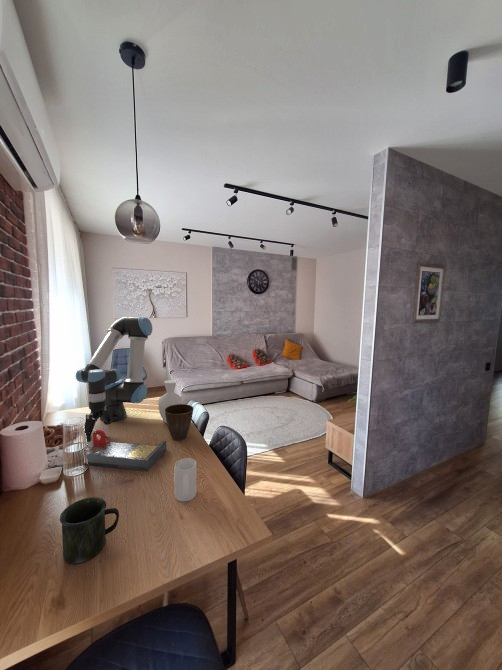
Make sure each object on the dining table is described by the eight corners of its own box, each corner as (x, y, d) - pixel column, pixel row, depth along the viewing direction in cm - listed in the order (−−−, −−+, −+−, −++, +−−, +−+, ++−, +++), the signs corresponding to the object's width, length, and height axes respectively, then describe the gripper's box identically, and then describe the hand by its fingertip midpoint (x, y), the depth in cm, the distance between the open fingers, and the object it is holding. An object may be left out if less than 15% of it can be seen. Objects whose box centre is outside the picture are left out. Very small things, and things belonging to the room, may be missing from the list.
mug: (65, 541, 80) (63, 503, 79) (119, 525, 86) (119, 489, 85) (57, 573, 70) (55, 530, 69) (119, 552, 76) (118, 513, 75)
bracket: (109, 441, 140) (109, 427, 139) (104, 446, 136) (104, 431, 135) (86, 441, 140) (86, 426, 140) (81, 445, 136) (80, 430, 135)
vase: (172, 414, 178) (172, 377, 176) (187, 420, 170) (187, 381, 168) (153, 421, 166) (153, 381, 164) (168, 427, 158) (168, 386, 156)
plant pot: (191, 429, 156) (191, 403, 155) (194, 441, 142) (194, 412, 140) (164, 433, 151) (164, 405, 150) (165, 445, 137) (164, 415, 136)
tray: (110, 444, 137) (109, 435, 136) (166, 450, 133) (166, 440, 132) (83, 464, 119) (83, 453, 119) (147, 471, 115) (147, 460, 115)
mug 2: (173, 511, 92) (173, 478, 91) (173, 489, 104) (173, 459, 103) (198, 507, 95) (198, 474, 94) (195, 485, 106) (195, 456, 105)
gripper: (105, 393, 150) (106, 431, 152) (72, 407, 127) (74, 452, 129) (118, 393, 149) (119, 432, 151) (87, 408, 126) (88, 453, 128)
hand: (98, 441), depth 140 cm, fingers open, 11 cm apart
